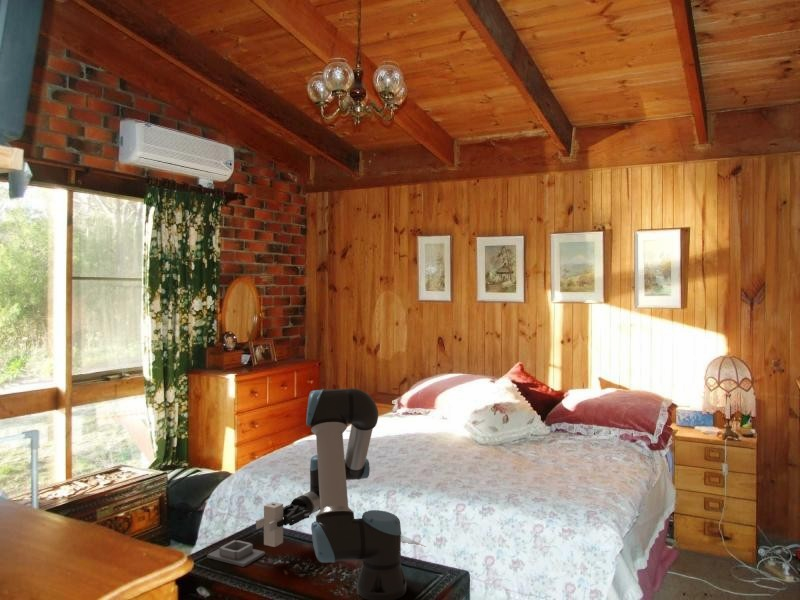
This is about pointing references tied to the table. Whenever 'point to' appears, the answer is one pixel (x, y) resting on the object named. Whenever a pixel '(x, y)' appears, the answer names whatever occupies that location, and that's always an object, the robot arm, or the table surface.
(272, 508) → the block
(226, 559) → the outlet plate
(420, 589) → the table surface
